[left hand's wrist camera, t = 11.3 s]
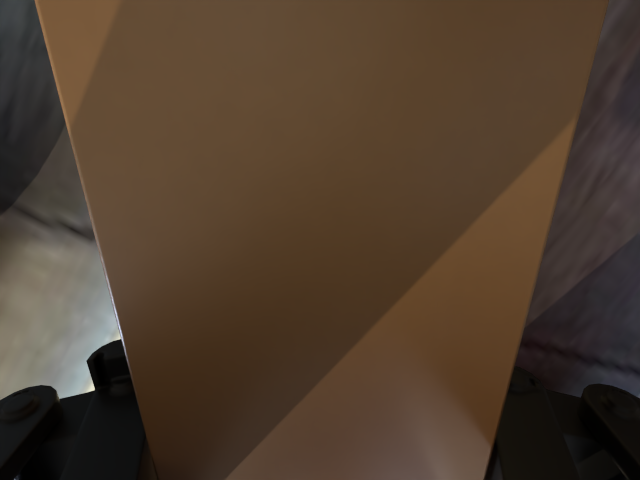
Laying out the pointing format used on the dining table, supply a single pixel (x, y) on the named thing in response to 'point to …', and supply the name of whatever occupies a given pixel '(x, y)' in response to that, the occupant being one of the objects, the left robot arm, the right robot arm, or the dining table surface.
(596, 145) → the dining table surface
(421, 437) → the bar
